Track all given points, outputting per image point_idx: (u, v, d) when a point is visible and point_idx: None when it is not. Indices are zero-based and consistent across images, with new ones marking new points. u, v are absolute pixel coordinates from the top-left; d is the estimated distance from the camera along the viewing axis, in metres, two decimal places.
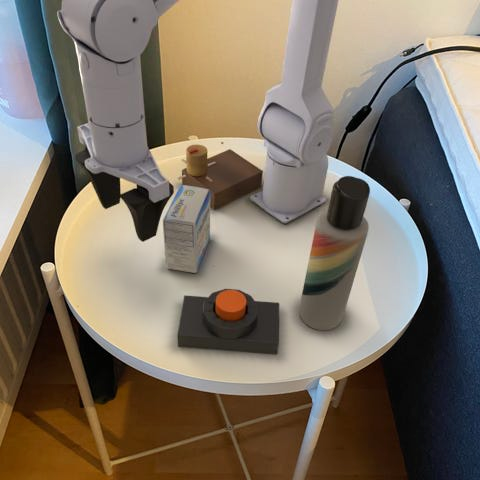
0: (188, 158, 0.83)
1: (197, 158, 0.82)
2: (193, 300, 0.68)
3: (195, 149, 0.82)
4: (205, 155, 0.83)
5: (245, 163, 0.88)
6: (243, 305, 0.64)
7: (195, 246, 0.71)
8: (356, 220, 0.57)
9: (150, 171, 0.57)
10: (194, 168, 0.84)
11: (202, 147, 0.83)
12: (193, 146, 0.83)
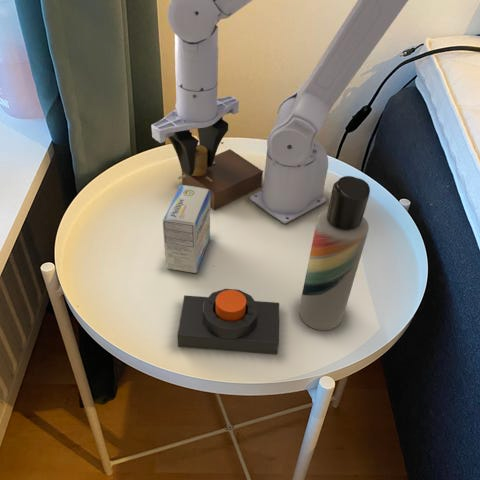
0: None
1: (197, 158, 0.82)
2: (193, 300, 0.68)
3: None
4: (205, 155, 0.83)
5: (245, 163, 0.88)
6: (243, 305, 0.64)
7: (195, 246, 0.71)
8: (356, 220, 0.57)
9: (172, 124, 0.76)
10: (194, 168, 0.84)
11: (202, 147, 0.83)
12: None
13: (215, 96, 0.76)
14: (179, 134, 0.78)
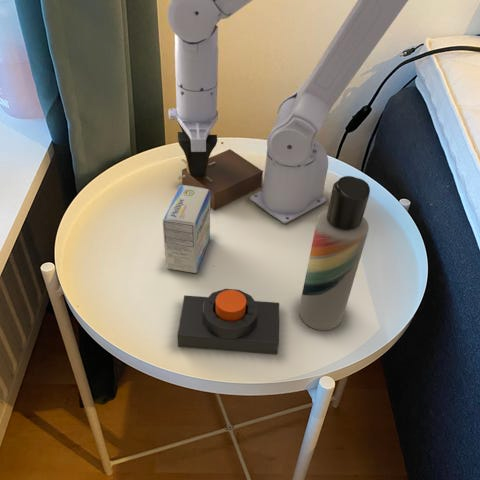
0: None
1: None
2: (193, 300, 0.68)
3: None
4: None
5: (245, 163, 0.88)
6: (243, 305, 0.64)
7: (195, 246, 0.71)
8: (356, 220, 0.57)
9: (201, 129, 0.75)
10: None
11: None
12: None
13: None
14: None
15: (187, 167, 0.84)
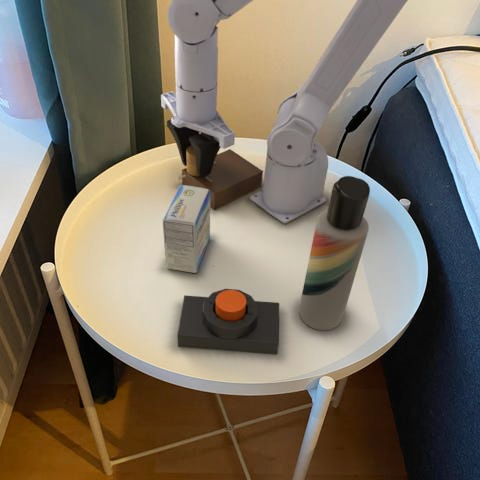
0: None
1: None
2: (193, 300, 0.68)
3: None
4: None
5: (245, 163, 0.88)
6: (243, 305, 0.64)
7: (195, 246, 0.71)
8: (356, 220, 0.57)
9: (220, 126, 0.77)
10: None
11: None
12: (190, 151, 0.82)
13: None
14: None
15: (192, 170, 0.84)
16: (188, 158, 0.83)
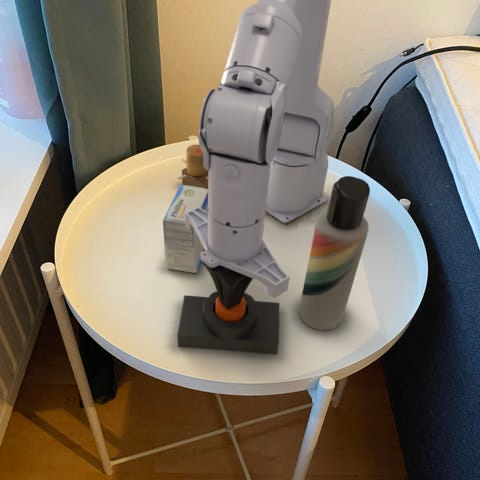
0: None
1: None
2: (193, 300, 0.68)
3: (199, 149, 0.83)
4: None
5: None
6: (243, 307, 0.64)
7: (195, 246, 0.71)
8: (356, 220, 0.57)
9: (268, 265, 0.56)
10: None
11: (192, 146, 0.83)
12: (190, 151, 0.82)
13: None
14: None
15: (192, 170, 0.84)
16: (188, 158, 0.83)
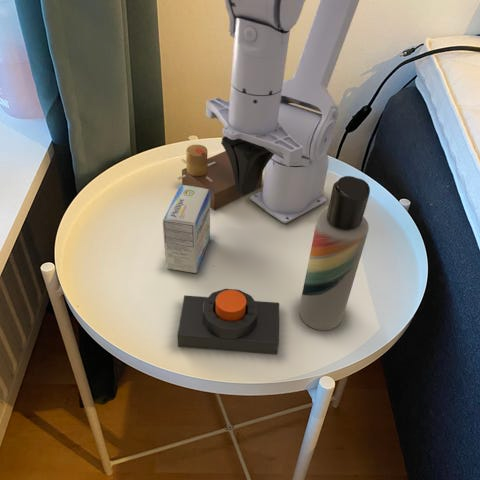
0: (203, 159, 0.83)
1: None
2: (193, 300, 0.68)
3: (199, 149, 0.83)
4: None
5: None
6: (243, 305, 0.64)
7: (195, 246, 0.71)
8: (356, 220, 0.57)
9: (284, 138, 0.62)
10: None
11: (192, 146, 0.83)
12: (190, 151, 0.82)
13: None
14: None
15: (192, 170, 0.84)
16: (188, 158, 0.83)
